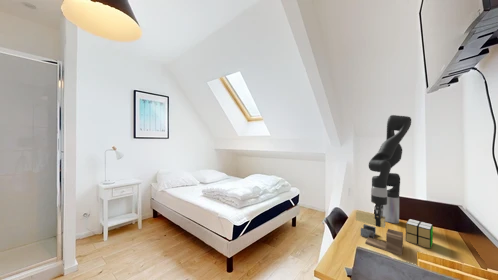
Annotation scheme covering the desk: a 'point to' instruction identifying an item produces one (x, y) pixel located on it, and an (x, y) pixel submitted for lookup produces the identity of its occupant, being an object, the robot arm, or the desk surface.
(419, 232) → the puzzle cube
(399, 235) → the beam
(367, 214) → the axle bar
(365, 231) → the cradle
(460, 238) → the desk surface
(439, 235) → the desk surface
